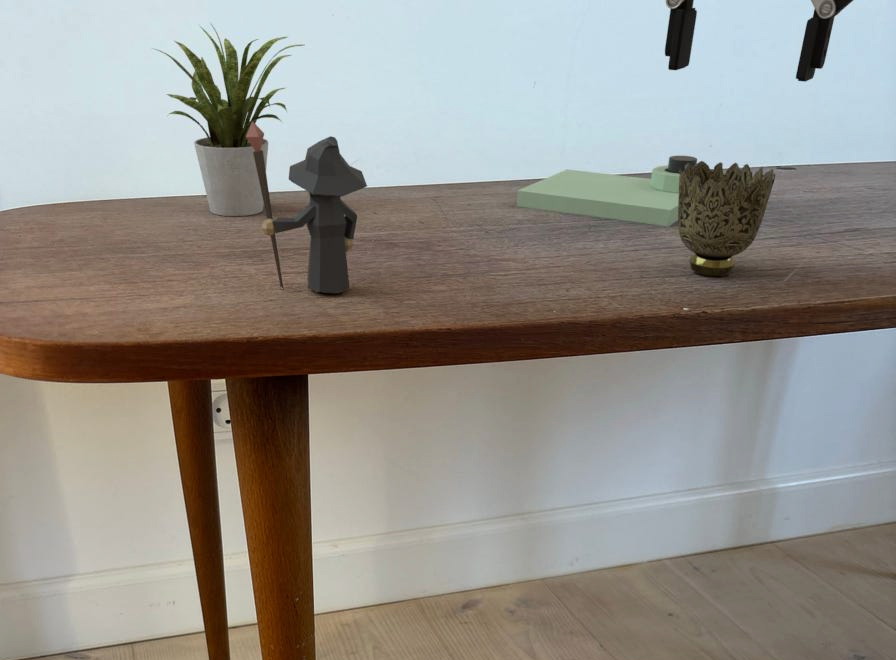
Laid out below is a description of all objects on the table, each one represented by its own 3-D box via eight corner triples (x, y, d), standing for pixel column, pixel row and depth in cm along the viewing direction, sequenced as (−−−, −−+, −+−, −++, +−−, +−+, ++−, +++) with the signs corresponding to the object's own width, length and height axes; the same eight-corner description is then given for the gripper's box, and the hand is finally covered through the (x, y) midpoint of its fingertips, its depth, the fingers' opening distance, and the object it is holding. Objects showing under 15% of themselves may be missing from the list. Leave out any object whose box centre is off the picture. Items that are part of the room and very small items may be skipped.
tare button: (698, 173, 108) (700, 157, 107) (690, 178, 106) (692, 161, 105) (671, 170, 109) (674, 154, 109) (663, 175, 107) (665, 158, 107)
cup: (742, 290, 84) (762, 182, 79) (653, 276, 87) (668, 172, 82) (765, 268, 89) (785, 166, 85) (681, 256, 92) (696, 157, 88)
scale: (711, 201, 110) (716, 168, 109) (671, 227, 101) (677, 192, 99) (566, 184, 117) (569, 152, 115) (516, 207, 107) (518, 173, 105)
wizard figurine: (349, 276, 86) (345, 113, 79) (378, 294, 81) (377, 124, 75) (252, 288, 82) (239, 119, 76) (277, 308, 78) (266, 131, 72)
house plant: (336, 198, 109) (331, 16, 100) (301, 229, 98) (292, 27, 89) (205, 191, 111) (188, 12, 102) (156, 221, 100) (132, 23, 91)
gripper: (936, -213, 69) (867, 79, 79) (682, -208, 76) (646, 60, 86) (921, -226, 64) (848, 89, 74) (648, -220, 71) (614, 69, 80)
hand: (739, 73), depth 80 cm, fingers open, 9 cm apart
